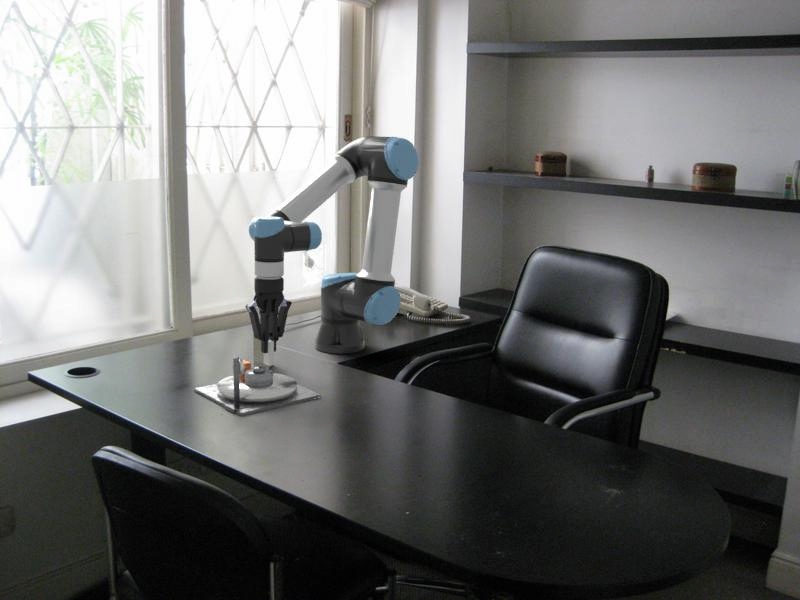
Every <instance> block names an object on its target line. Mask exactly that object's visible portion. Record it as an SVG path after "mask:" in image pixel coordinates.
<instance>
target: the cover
mask: <svg viewBox="0 0 800 600" xmlns="http://www.w3.org/2000/svg"><path fill="white" fill-rule="evenodd" d="M273 373H274V372H273V370H272V369H270V368H269V369H265V367H263V366H255V367H254V366H253V367H252V368H251V369H250V370H247V371H245V385H246V386H248V387H253V388H263V387H268V386H271V385H272V384H273Z"/></svg>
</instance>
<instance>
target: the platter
mask: <svg viewBox="0 0 800 600" xmlns="http://www.w3.org/2000/svg"><path fill="white" fill-rule="evenodd" d="M242 361H243V363H244V366H245V371H247V370H250V369H252V362H250V361H248V360H245V359H244V360H242ZM239 381H240V401H242V402H266V401H274V400H279V399H283V398H286V397H289V396H291V395H293V394H294V393H295V392H296V391H297V384H298V381H297V380H296V379H294V378H293V377H291V376H288V375H286V374H282V373H275V372H273V384H272V385H271V386H268V387H263V388H253V387H248V386H246V385H245V372H244V374H243V375H240V376H239ZM216 384H217V392H218V394H219V395H221V396H222V397H224V398H227V399H231V400H234V378H233V375H229V376H226V377H224V378H222V379H220V380H219V381H218V383H216Z"/></svg>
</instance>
